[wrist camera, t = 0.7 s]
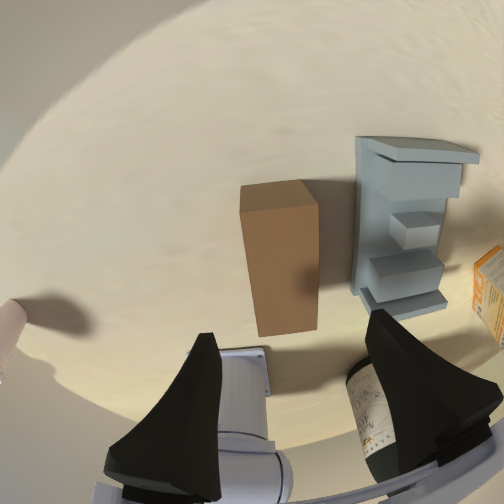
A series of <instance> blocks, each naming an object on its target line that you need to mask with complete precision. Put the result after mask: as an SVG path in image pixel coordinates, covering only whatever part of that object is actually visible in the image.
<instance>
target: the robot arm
mask: <svg viewBox="0 0 504 504" xmlns="http://www.w3.org/2000/svg"><path fill="white" fill-rule="evenodd" d="M365 343H366V346H367V350H368V353H369V357H370V360H371V362H372V365H373V367H374V370H375V372H376V374H377V377H378V379H379V382H380V384H381V386H382V389H383V391H384V394H385V397H386V400H387V403H388V406H389V410H390V414H391V419H392V423H393V428H394V434H395V440H396V447H397V457H398V471H399V475H400V476H398V477H395V478H393V479H390V480H387V481H384V482H381V483H378V484H375V485H371V486H368V487H364V488H361V489H357V490H353V491H350V492H345V493H341V494H337V495H332V496H327V497H322V498H316V499H310V500H303V501H296V502H288V503H287V501H288V500H289V498H290V496H291V493H292V488H293V471H292V466H291V463H290V461H289V459H288V458H287V457H286V456H285V454H284V453H283V452H282V451H280V450H275V441H268V429H267V414H266V399H265V397H269V396H270V395H271V392H270V385H269V378H268V371H267V365H266V358H265V351H264V349H263V348H249V349H237V350H224V351H219V349H218V346H217V343H216V340H215V337H214V334H213V332H212V333H200V334H199V335H198V337H197V339H196V341H195V343H194V345H193V347H192V349H191V351H190V352H188V353H186V354H185V359H186V360H185V362H184V364H183V366H182V367H181V369H180V371H179V373H178V374H177V376H176V377H175V379H174V381H173V382H172V384H171V385H170V387H169V388H168V390H167V391H166V392H165V394H164V395H163V396H162V398H161V399H160V400H159V402H158V403H157V404H156V405H155V406H154V408H153V409H152V410H151V411H150V412H149V413H148V414H147V415H146V417H145V418H144V419H143V420H142V421H141V422H140V423H138V424H137V425H136V426H135V427H134V428H133V429H132V430H131V431H130V432H129V433H128V434H126V435H125V436H124V437H123V438H121V439H120V440H119V441H117V442H116V443H115V444H113V445H112V446H111V447H109V450H108V453H107V457H106V462H105V467H104V471H103V472H104V474H105V475H106V476H108V477H110V478H112V479H114V480H116V481H118V482H120V483H122V484H124V487H123V489H121V488H118V487H115V486H111V485H108V484H105V483H101V482H98V481H96V482H95V485H94V491H93V496H92V502H91V504H356V503H360V502H364V501H366V500H370V499H374V498H377V497H380V496H383V495H386V494H389V493H392V492H394V491H397V490H400V489H402V488H405V487H407V486H410V485H412V484H413V485H412V486H411V487H410V490H407V491H405V492H402V493H400V494H397V495H395V496H392V497H390V498H388V499H386V500H383V501H380V502H379V503H378V504H457V503H458V502H460V501H461V500H463V499H464V498H466V497H467V496H468V495H470V494H471V493H473V492H474V491H475V490H477V489H478V488H479V487H481V486H482V485H483V484H485V483H486V482H487V481H488V480H490V479H491V478H492V477H493V476H495V475H496V474H497V473H498V472H499V471H501V470H502V469H503V468H504V418H502V419H501V420H500V421H498V422H497V423H495V424H494V425H493V426H491V427H489V425H488V423H490V418H489V415H490V414H491V413H492V412H493V411H494V410H495V409H496V408H497V407H498V406H499V405H500V404H501V402H502V401H503V398H504V396H503V395H502V392H501V390H500V389H499V387H498V385H497V383H494V382H491V381H488V380H485V379H482V378H479V377H477V376H475V375H472V374H470V373H468V372H466V371H464V370H462V369H460V368H458V367H456V366H455V365H453V364H451V363H449V362H448V361H446V360H445V359H443V358H442V357H440V356H439V355H437V354H436V353H434V352H433V351H431V350H430V349H429V348H428V347H426V346H425V345H424V344H422V343H421V342H420V341H419V340H418V339H416V338H415V337H414V336H413V335H412V334H411V333H409V332H408V331H407V330H406V329H405V328H404V327H403V326H402V325H401V324H399V323H398V322H397V321H396V320H395V319H394V318H393V317H392V316H391V315H390V314H389V313H388V312H386V311H385V310H384V309H383V308H382V309H377V310H372V311H371V314H370V319H369V324H368V328H367V333H366V337H365Z"/></svg>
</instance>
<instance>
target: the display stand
mask: <svg viewBox="0 0 504 504" xmlns="http://www.w3.org/2000/svg"><path fill="white" fill-rule="evenodd" d="M355 146H356V209H355V232H354V248H353V261H352V273H351V283H350V290H351V292H352V294H353V296H356V295H359V296H360V298H361V300H362V302H363V304H364V306H365V308H366V310H367V312H368V314H369V316H370V314H371V311H372V310H377V309H382V308H383V309H384V310H385V311H386V312H388V313H389V314H390V315H391V316H392V317H393V318H394V319H395V320H396V321H400V320H405V319H409V318H412V317H416V316H420V315H424V314H427V313H431V312H435V311H438V310H442V309H445V308H446V306H447V303H448V301H447V300H446V299H445V297H444V296H443V295H442V294H441V292H440V291H439V290H438V287H439V283H440V280H441V277H442V273H443V270H444V266H445V265H444V264H443V263H442V262H441V261H440V260H439V259H438V258H437V257H436V253H437V249H438V244H439V239H440V234H441V229H442V223H443V218H444V211H445V205H446V198H459V190H460V182H461V172H462V164H460V163H467V164H479V160H480V154H478V153H476V152H473V151H470V150H468V149H465V148H462V147H459V146H456V145H453V144H451V143H450V142H447V141H444V140H434V139H422V138H407V137H381V136H355Z"/></svg>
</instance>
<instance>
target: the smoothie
mask: <svg viewBox="0 0 504 504" xmlns="http://www.w3.org/2000/svg"><path fill="white" fill-rule="evenodd" d="M27 320H28V318H27V314H26V312H25V311H24V309H23V308H22V307H21V305H20V304H19V303H17V302H16V301H14V300H12V299H9V300H8V301H7V302H6V303H5V304H4V305H3V306H2V307H1V308H0V384H1V383H2V382H3V380H4V379H5V375H4V372H5V370H6V367H7V365H8V362H9V359H10V357H11V355H12V352H13V350H14V348H15V345H16V343H17V341H18V339H19V337H20V334H21V332H22V330H23V328H24V326H25V324H26V322H27Z"/></svg>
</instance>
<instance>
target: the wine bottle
mask: <svg viewBox="0 0 504 504" xmlns="http://www.w3.org/2000/svg"><path fill="white" fill-rule="evenodd" d="M346 388H347V392H348V395H349V399H350V402H351V406H352V410H353V413H354V417H355V421H356V425H357V428H358V432H359V436H360V440H361V444H362V448H363V452H364V457H365V460H366V463H367V465H368V467H369V470H370V472H371V474H372V476H373V477H374V479H375V481H376V482H377V484H378V483H381V482H384V481H387V480H390V479H393V478H395V477H398V476H400V475H399V471H398V457H397V447H396V440H395V434H394V428H393V423H392V419H391V414H390V410H389V406H388V403H387V400H386V397H385V394H384V391H383V389H382V386H381V384H380V382H379V379H378V377H377V374H376V372H375V370H374V367H373V365H372V362H371V360H370V357H368V358H366V359H365V360H363V361H361V362H360V363H359V364H357V365H356V366H355V367H354V368H353V369H352V370H351V372H350V373H349V374H348V377H347V380H346ZM412 485H413V484H412ZM412 485H410V486H407V487H405V488H402V489H400V490H397V491H394V492H392V493H389V494H386V495H387V496H388V497H389V498H390V497H392V496H395V495H397V494H400V493H402V492H405V491H407V490H410V487H411V486H412Z"/></svg>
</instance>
